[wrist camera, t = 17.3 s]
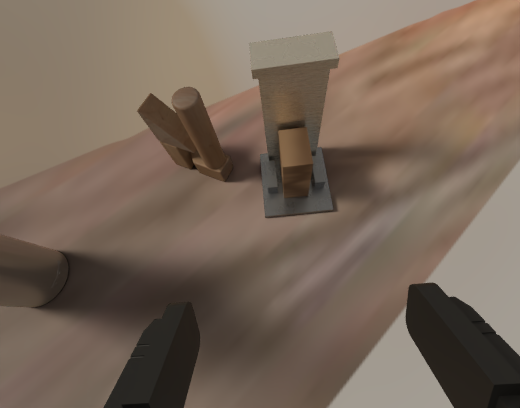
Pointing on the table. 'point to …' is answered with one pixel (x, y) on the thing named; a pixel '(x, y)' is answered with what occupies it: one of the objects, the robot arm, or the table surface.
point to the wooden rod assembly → (187, 132)
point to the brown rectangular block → (295, 161)
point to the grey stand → (293, 112)
